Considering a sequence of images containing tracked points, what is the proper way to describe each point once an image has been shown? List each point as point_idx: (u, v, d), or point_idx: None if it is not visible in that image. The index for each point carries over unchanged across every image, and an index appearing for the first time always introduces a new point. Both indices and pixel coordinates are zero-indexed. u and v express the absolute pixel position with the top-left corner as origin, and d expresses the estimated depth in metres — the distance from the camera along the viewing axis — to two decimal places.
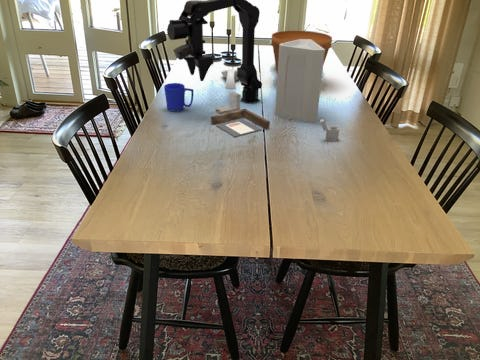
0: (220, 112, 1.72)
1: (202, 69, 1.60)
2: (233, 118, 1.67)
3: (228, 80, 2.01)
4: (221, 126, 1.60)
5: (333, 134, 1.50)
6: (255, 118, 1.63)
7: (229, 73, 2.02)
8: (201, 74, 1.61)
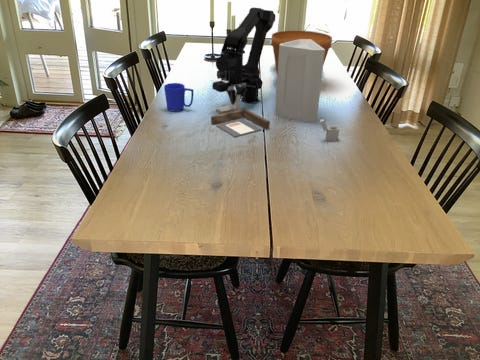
0: (220, 112, 1.72)
1: (230, 93, 1.73)
2: (233, 118, 1.67)
3: (226, 81, 2.00)
4: (221, 126, 1.60)
5: (333, 134, 1.50)
6: (255, 118, 1.63)
7: None
8: (229, 97, 1.74)
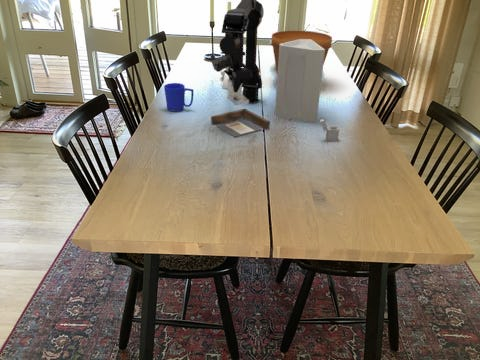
0: (245, 101, 1.53)
1: (236, 80, 1.54)
2: (233, 118, 1.67)
3: (224, 81, 2.00)
4: (221, 126, 1.60)
5: (333, 134, 1.50)
6: (255, 118, 1.63)
7: None
8: (235, 85, 1.55)
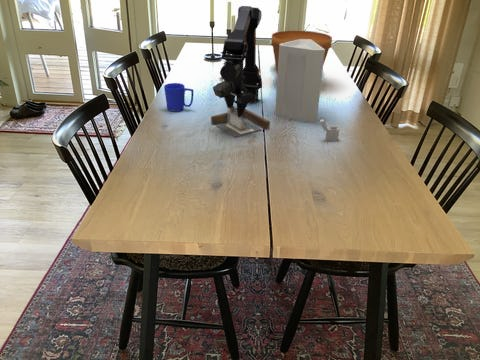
0: (249, 128, 1.57)
1: (241, 105, 1.54)
2: None
3: None
4: (221, 126, 1.60)
5: (333, 134, 1.50)
6: (255, 118, 1.63)
7: None
8: (239, 110, 1.55)
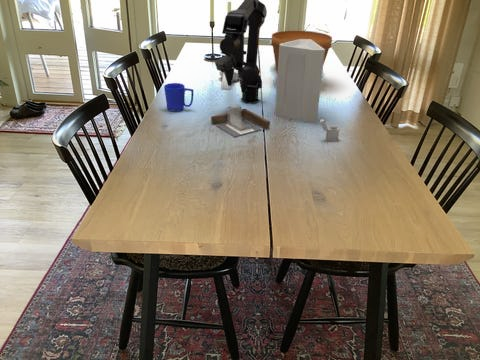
0: (249, 128, 1.57)
1: (244, 81, 1.58)
2: None
3: (223, 81, 2.00)
4: (221, 126, 1.60)
5: (333, 134, 1.50)
6: (255, 118, 1.63)
7: None
8: (243, 85, 1.59)
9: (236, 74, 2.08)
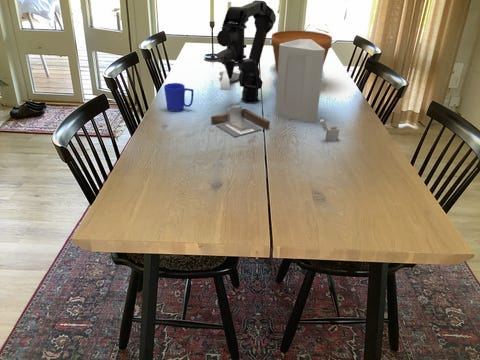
0: (249, 128, 1.57)
1: (244, 73, 1.65)
2: None
3: (222, 81, 1.99)
4: (221, 126, 1.60)
5: (333, 134, 1.50)
6: (255, 118, 1.63)
7: (224, 74, 2.01)
8: (243, 77, 1.66)
9: (236, 74, 2.08)
